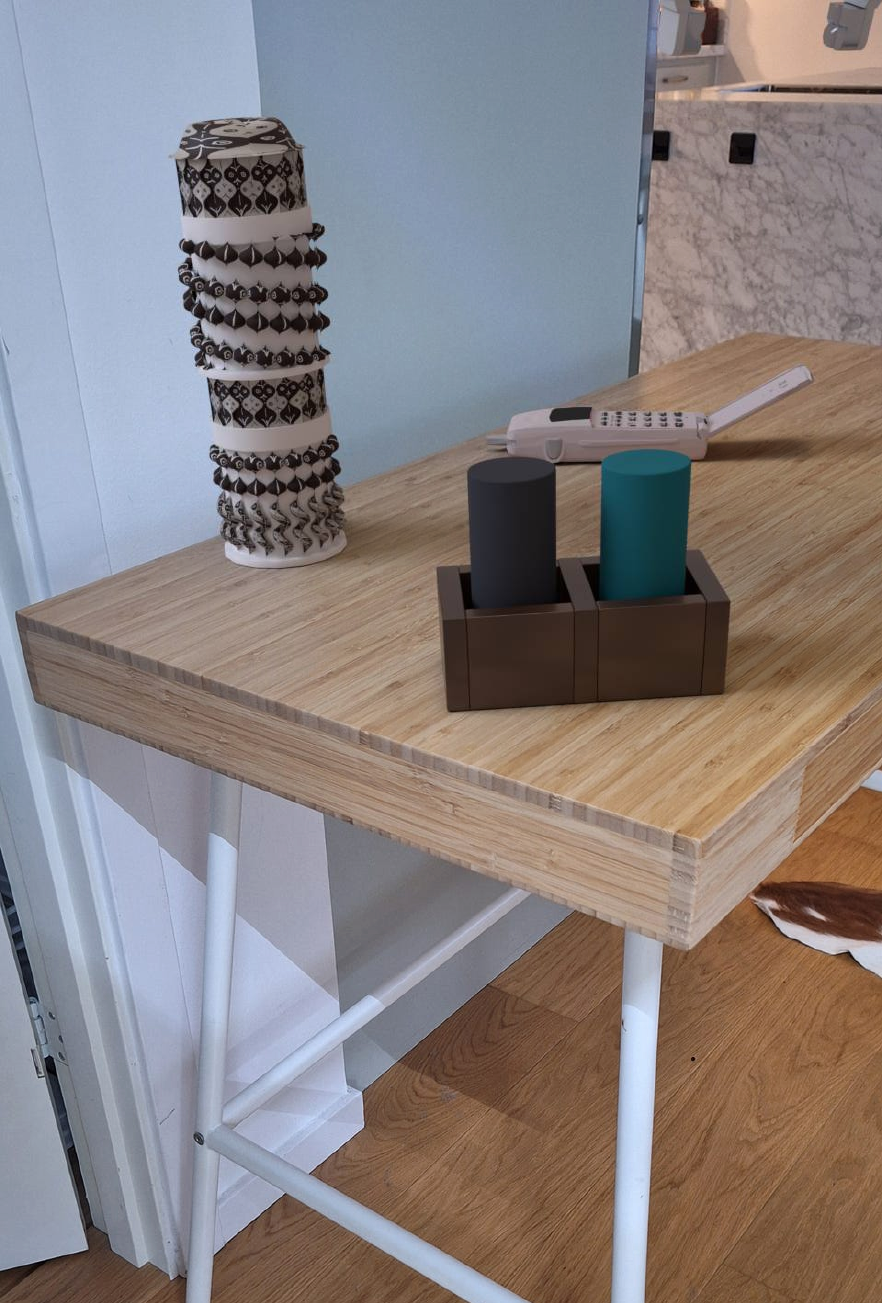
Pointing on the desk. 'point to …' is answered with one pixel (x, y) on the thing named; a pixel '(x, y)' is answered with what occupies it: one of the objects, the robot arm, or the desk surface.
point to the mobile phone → (636, 426)
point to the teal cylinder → (644, 524)
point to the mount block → (582, 641)
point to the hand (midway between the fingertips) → (762, 51)
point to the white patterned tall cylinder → (260, 339)
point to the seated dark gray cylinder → (512, 532)
